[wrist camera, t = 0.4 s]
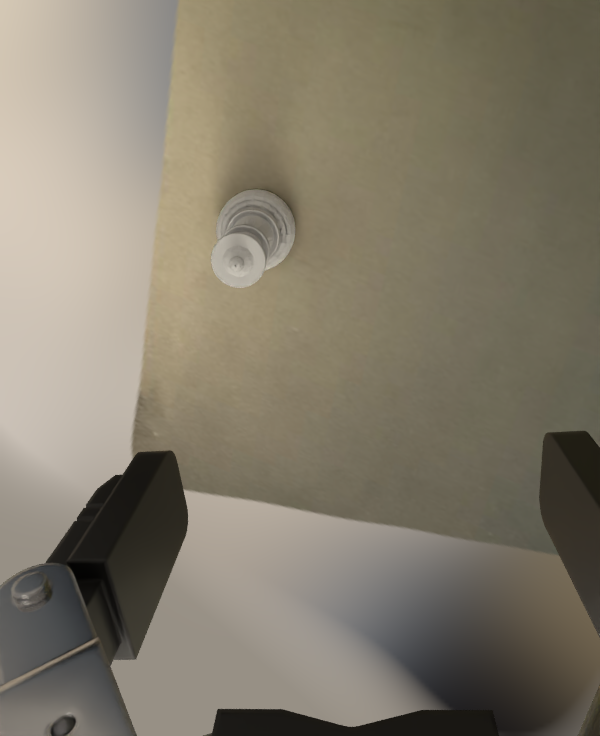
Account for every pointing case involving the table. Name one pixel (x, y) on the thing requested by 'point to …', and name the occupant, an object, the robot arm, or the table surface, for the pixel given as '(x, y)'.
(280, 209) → the chess piece
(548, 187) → the table surface
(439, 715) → the robot arm
